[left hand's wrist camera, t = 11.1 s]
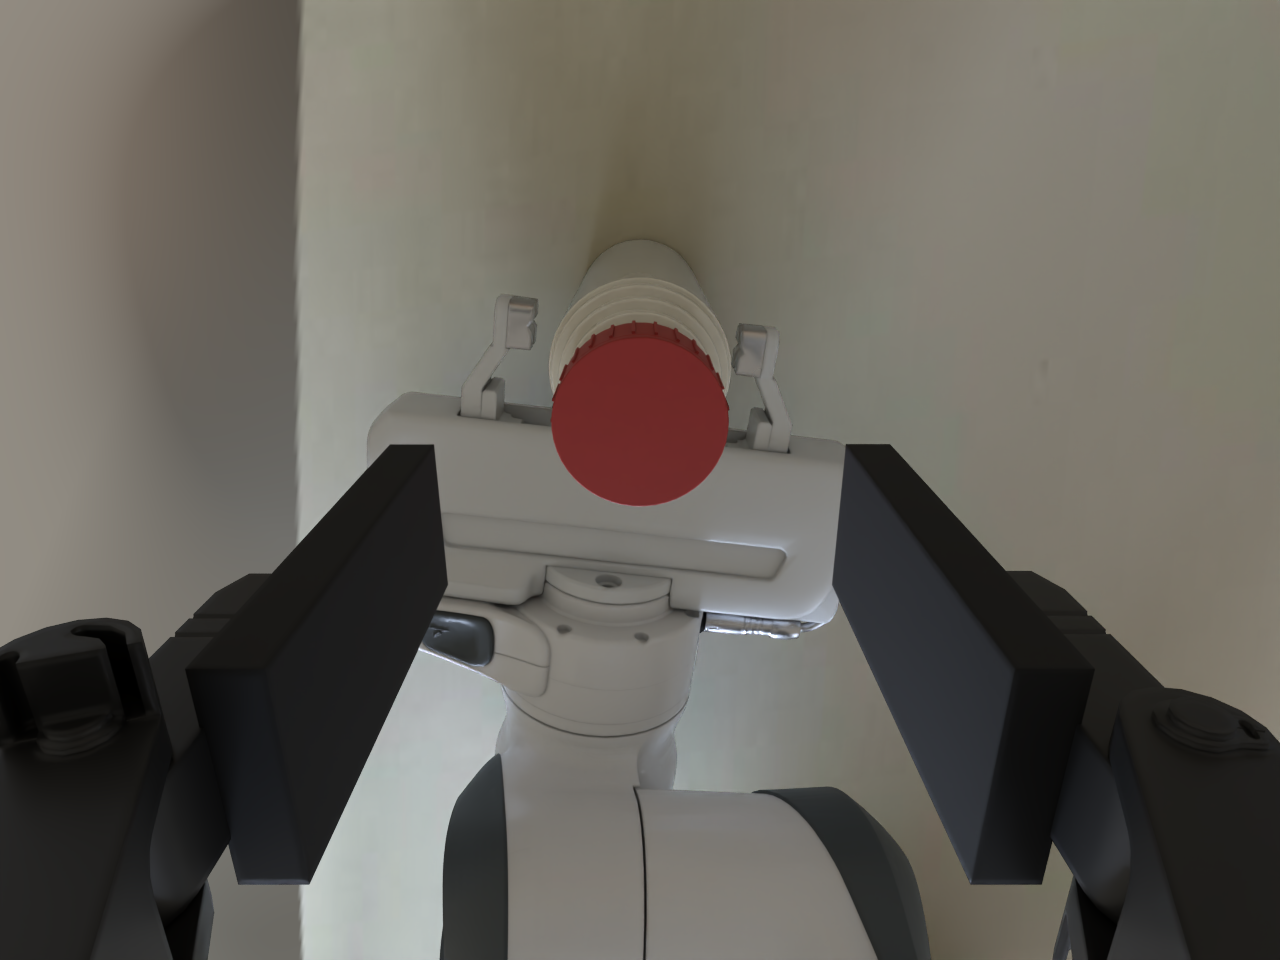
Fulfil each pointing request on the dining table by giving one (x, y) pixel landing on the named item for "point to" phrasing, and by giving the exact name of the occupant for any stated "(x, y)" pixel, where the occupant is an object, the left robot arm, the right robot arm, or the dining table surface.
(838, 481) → the right robot arm
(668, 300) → the bottle
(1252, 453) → the dining table surface
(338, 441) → the dining table surface
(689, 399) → the cap
